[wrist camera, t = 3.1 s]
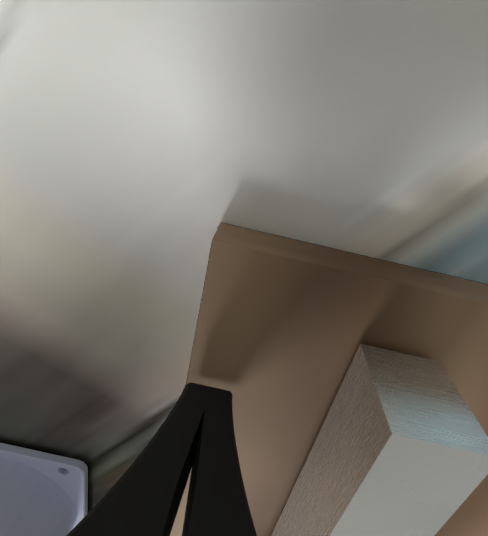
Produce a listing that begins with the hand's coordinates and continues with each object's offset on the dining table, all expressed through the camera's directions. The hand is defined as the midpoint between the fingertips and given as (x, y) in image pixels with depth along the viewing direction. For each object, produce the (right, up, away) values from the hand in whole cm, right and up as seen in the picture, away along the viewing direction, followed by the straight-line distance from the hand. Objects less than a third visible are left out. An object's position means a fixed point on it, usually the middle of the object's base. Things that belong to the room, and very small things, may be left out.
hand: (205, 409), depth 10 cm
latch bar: (+4, -5, +3) cm, 7 cm away
